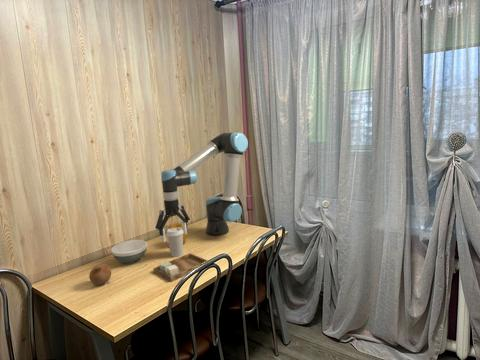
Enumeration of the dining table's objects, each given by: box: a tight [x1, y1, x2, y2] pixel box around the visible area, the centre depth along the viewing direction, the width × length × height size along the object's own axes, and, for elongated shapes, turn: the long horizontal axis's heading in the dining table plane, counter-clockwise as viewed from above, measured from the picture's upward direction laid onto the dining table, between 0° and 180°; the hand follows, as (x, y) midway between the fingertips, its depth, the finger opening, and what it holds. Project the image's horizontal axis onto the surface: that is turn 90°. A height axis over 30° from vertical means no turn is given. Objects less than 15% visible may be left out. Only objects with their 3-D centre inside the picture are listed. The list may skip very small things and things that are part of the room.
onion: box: [88, 264, 112, 286], centre depth 145 cm, size 10×9×10 cm
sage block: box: [159, 261, 172, 274], centre depth 152 cm, size 4×4×4 cm
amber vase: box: [168, 223, 188, 245], centre depth 187 cm, size 11×11×13 cm
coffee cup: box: [165, 227, 184, 258], centre depth 170 cm, size 10×10×15 cm
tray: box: [152, 252, 209, 283], centre depth 155 cm, size 22×16×2 cm
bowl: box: [110, 239, 148, 265], centre depth 169 cm, size 19×19×8 cm
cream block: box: [167, 265, 179, 276], centre depth 148 cm, size 4×4×4 cm
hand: (174, 237), depth 169 cm, fingers open, 13 cm apart
